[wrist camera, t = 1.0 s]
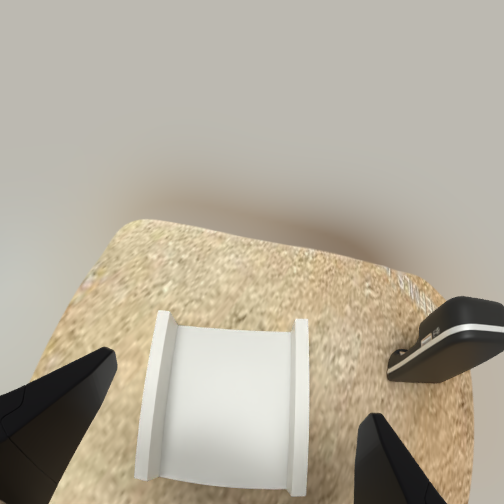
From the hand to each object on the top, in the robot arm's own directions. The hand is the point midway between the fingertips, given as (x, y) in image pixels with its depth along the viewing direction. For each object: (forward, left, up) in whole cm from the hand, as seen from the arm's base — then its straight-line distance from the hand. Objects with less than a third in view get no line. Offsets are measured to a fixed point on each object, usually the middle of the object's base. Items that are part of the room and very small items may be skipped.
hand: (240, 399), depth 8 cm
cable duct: (+2, +1, -15) cm, 15 cm away
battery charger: (-8, -14, -15) cm, 23 cm away
